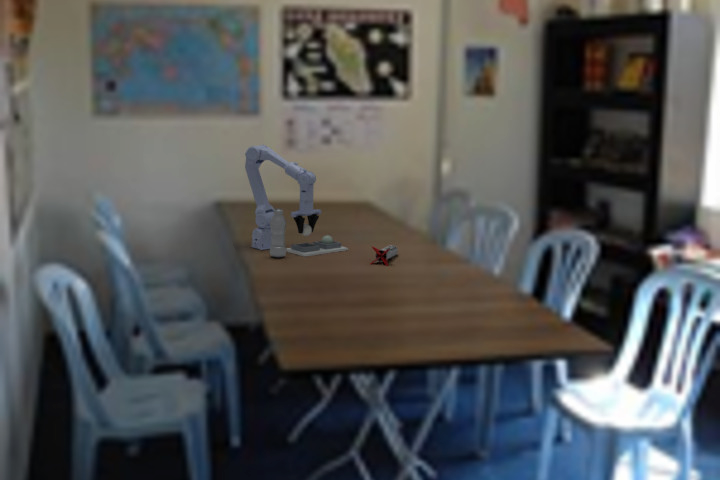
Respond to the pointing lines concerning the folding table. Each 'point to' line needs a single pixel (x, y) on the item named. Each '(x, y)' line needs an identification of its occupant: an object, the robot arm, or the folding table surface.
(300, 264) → the folding table surface
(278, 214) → the plastic bottle
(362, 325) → the folding table surface
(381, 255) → the model rocket
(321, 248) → the ball sorting tray
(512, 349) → the folding table surface
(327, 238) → the sage ball
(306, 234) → the ivory ball
